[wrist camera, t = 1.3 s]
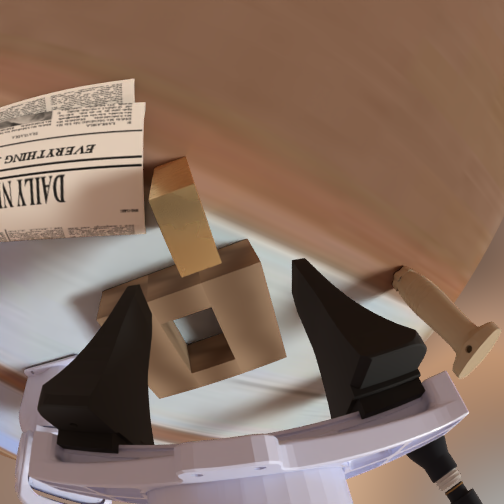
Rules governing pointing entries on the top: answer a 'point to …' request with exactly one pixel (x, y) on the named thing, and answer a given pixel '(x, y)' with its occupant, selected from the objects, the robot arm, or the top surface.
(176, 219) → the wooden block
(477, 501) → the wine bottle
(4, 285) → the top surface
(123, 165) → the newspaper
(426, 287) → the handle
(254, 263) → the well block
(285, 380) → the top surface
